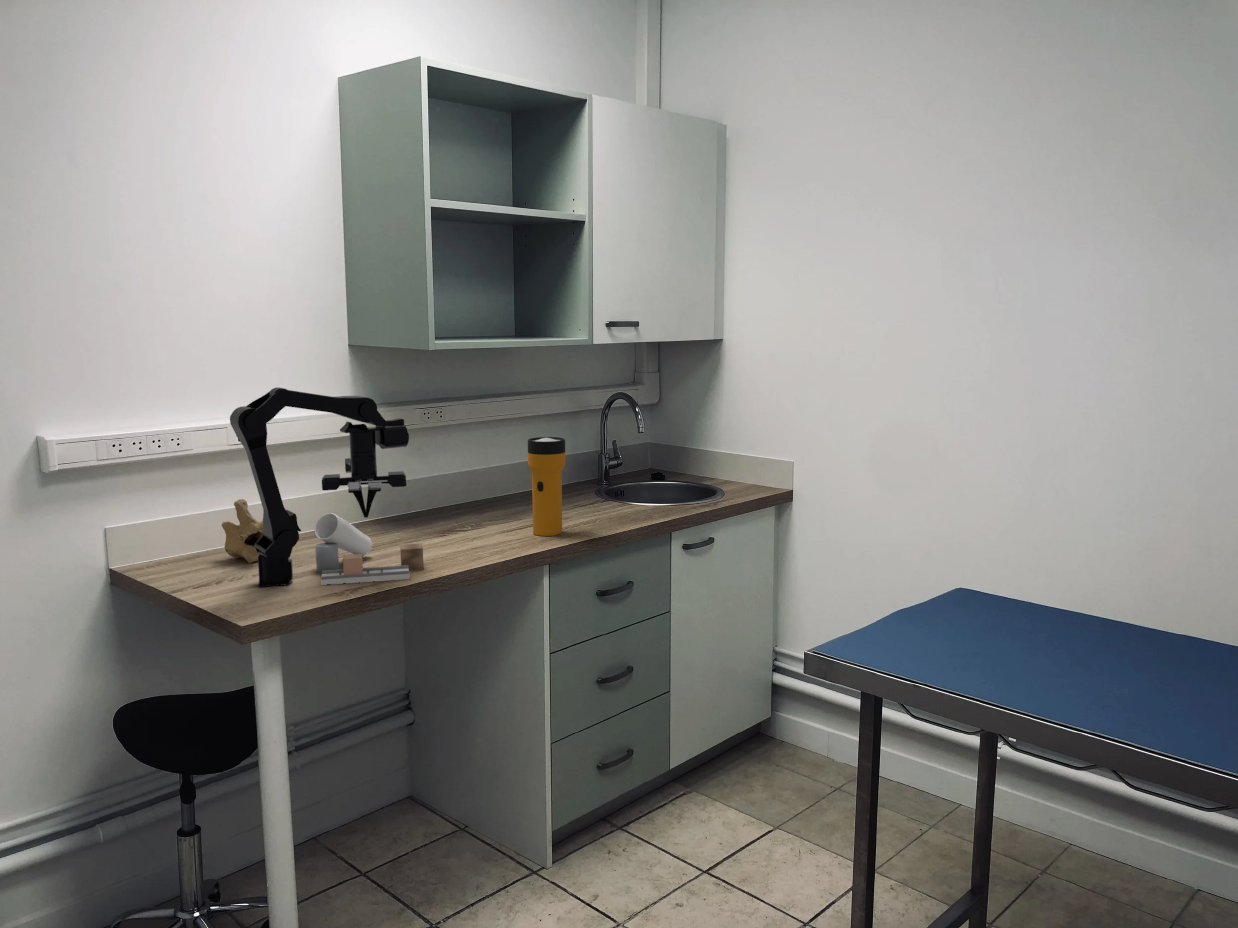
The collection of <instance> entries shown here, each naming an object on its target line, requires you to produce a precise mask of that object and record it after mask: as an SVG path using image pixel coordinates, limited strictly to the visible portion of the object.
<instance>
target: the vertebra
mask: <svg viewBox="0 0 1238 928" xmlns="http://www.w3.org/2000/svg"><path fill="white" fill-rule="evenodd" d="M248 505H249V504H248V501H247V500H246V499H243V498H240V499H237V500H236V501H234V502H233V506H234V507H235V512H236V518H237V519H238V521H239V524H238V525H236V524H235V523H233V522H231V521H229V520H228V521H227V520H226V521H222V523H221V527H222V529H223V530H224V533H225V542H224V551H225V553H227V554H228V555H229V556H230V557H232V558H236V559H242V558H244V559H245V560H246V562H248V564H252V563H253V562H258V556H259V555H260V554H259V553H257V551H256V549H255V547H254V544H255V543H256V542H257V541H258V540H259V539H260V538H261V536H262V535H263V534H264V529H263V520H261V521H258V520H256V518H254V516H252V514H251V512H250V511H249V509H248Z"/></svg>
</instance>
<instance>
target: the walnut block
mask: <svg viewBox="0 0 1238 928" xmlns="http://www.w3.org/2000/svg"><path fill="white" fill-rule="evenodd" d="M399 546H400V550H399V551H400V566H403V565H409V571H411V570H410V569H414V570H424V567H425V566H424V548H423V547H424V546H423V543H404V544H403V543H402V544H400V545H399Z"/></svg>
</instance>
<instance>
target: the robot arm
mask: <svg viewBox="0 0 1238 928" xmlns="http://www.w3.org/2000/svg"><path fill="white" fill-rule="evenodd" d="M285 407H287V408H288V407H289V408H296V409H303V410H311V411H317V412H325V413H331V414H335V415H338V416H340V417H343V418H346V419H348V420H349V419H350V420H352V421H357V422H361V423H358V424H357V423H356V424H355V423H354V424H353V423H352V422H351V421H346V422H345V423H344V425H343V426H342V427H341V428H339V431H340V432H341V433H344V434H349V450H350V451H349V452H350V458H345V459H344V466H345V467H344V469H345V473H347V474H348V473H350V474H351V475H350V476H349V477H341V474H340V473H335V474H332V473H331V474H323V476H322V477H321V490H322V491H337V490H338V489H339V488H340V486H342V487H343V486H347V488H348V489H347V492H348V494H353V495H354V498H355V499H356V501H357V503H358V505H359V508H360V510H361V513H362V515H363V517H364V519H365V518H366V519H367V518H369V514H370V511H371V508H372V504H373V501H374V499H375V496H376V494H377V493H378V492H381V491H382V484H383V485H384V484H389V485H390V486H391V487H392V488H404V487H407V475H406V473H405V472H404V471H388V473H387V475H378V466H377V465H378V464H377V447H376V446H379V448H380V449H382V450H387V449H397V448H407V446H408V445H409V441H410V433H409V432H408V428H407V426H406V424H405V419H404V418H402V417H401V418H394V419H385V418H384V417H383V415H382V414H381V413H380V412H379V410H378V406H377V403H376V401H375V400H374V399H372V398H370V397H367V396H361V395H341V396H331V395H330V396H329V395H323V394H316V393H310V392H303V391H297V390H291V389H287V388H284V387H280V386H279V387H274V388H271V390H269V391H268V392H266V393H265V394H263V395H262V396H260V397H258V398H256V399H255V400H253V401H251V402H250V403H248V404H247V405H246V406H245V405H243V406H238V407H236V408H235V409H234V410H233V411H232V413H231V414H230V416H229V422H230V425H231V427H232V428H231V429H232V430H233V432H234V434H235V435H236V437H237V439H238V440H239V442H240V443H241V445H242V447H243V448H244V450H245V452H246V456H247V460H248V463H249V466H250V470H251V473H252V476H253V479H254V482H255V485H256V489H257V492H258V496H259V500H260V502H261V506H262V511H263V515H262V521H263V529H264V534H263V535H262V536H261V538H260V539H259V540H258V541H257V542H256V543H255V544H254V547H255V549H256V551H257V553H259V554H260V555H259V556H258V561H257V565H258V585H257V587H258V588H260V587H261V588H262V587H273V586H286V585H287V586H288V585H290V584H291V581H292V580H293V579H294V571H293V560H292V559H291V558H290V557H291V555H292V551H293V549H294V547H295V546H296V545H297V543H298V542H299V540H300V533H299V532H302V529H301V528H300V527H299V524H298V517H297V513H295V512H292V511H291V510H289V509H286V507H285V506H284V502H283V499H282V495H281V492H280V490H279V489H280V488H279V486H278V482H277V479H276V475H275V471H274V468H273V465H272V462H271V458H270V455H269V452H268V447H267V444H268V443H267V441H268V428H267V423H269V422H270V421H272V419H274V418H275V417H276V416H277V415H278V414H279V413H280V412H281V410H283V409H284V408H285ZM367 424H368V425H373V427H372V426H371V427H369V426H367ZM363 485H364V486H365V485H367V493H366V494H367V495H366V502H365V499H364V493H363ZM365 504H366V505H365Z"/></svg>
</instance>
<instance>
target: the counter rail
mask: <svg viewBox="0 0 1238 928" xmlns="http://www.w3.org/2000/svg"><path fill="white" fill-rule="evenodd" d="M410 574H411V573H410V570H409V565H403V566H401V565H391V566H388V565H387V566H377V567H373V566H372V567H363V574H351V575H344V568H343V569H339V570H327V571H322V573H321V576H320V585H321V586H327V584H331V585H344V584H343V583H346V584H356V583H357V584H359V582H360V583H371V582H373V581H375V582H385V581H399V580H400V581H402V580H410V579H411V576H410ZM373 583H374V582H373Z"/></svg>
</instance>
